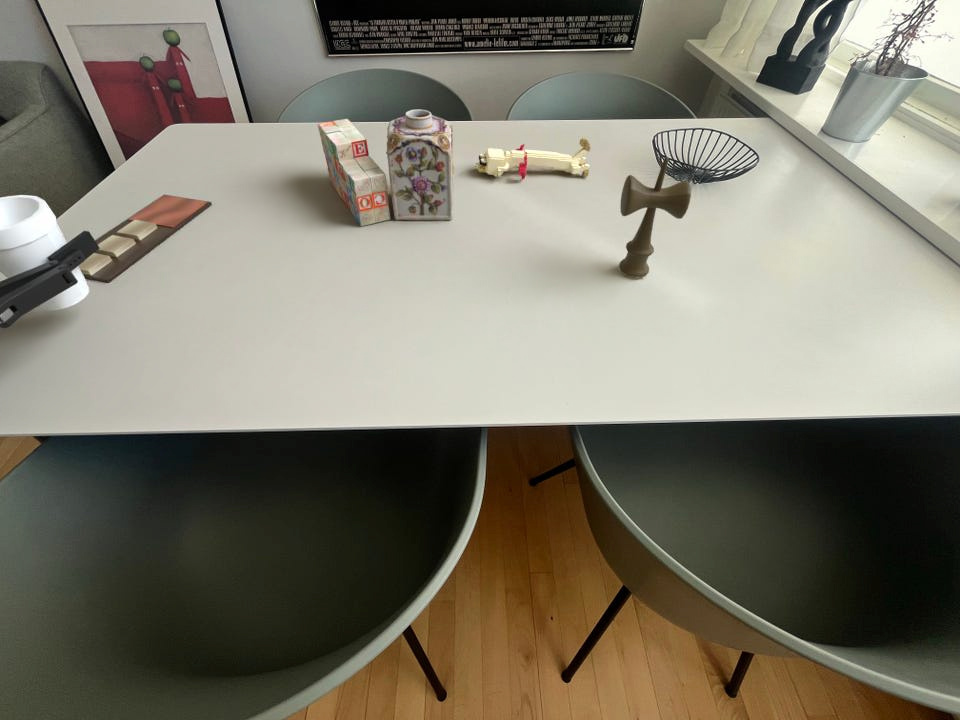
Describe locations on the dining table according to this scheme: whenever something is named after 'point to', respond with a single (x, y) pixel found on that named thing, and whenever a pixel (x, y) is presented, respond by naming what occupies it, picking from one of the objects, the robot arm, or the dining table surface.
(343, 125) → the stack of blocks
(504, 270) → the dining table surface
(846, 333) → the dining table surface
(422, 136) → the decorative jar
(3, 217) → the foam cup
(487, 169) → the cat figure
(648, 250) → the kendama
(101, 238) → the word board
